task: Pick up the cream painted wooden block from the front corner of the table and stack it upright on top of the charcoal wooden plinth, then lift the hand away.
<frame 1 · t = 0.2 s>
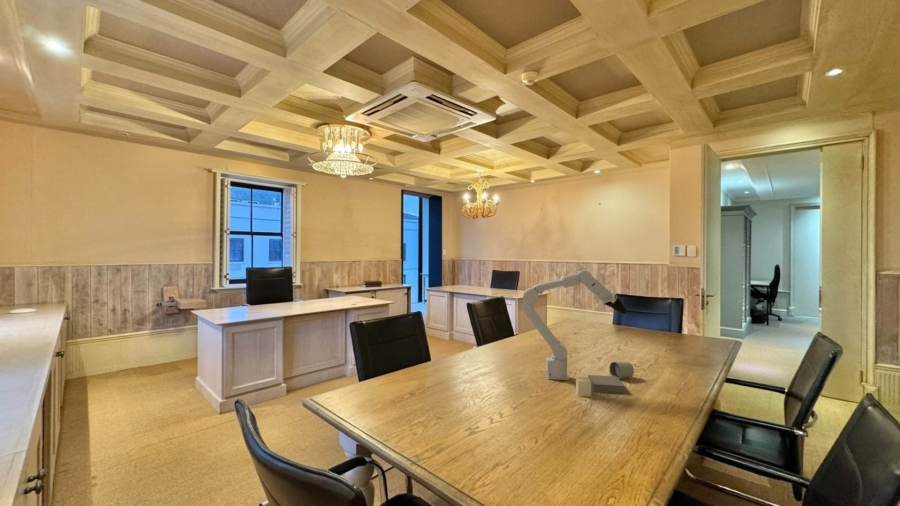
hand: (622, 311, 165), 31 cm above the table, tool tilted 50°, fingers open, 7 cm apart
ceramic mug: (619, 377, 171), on the table
charcoal plinth: (605, 387, 157), on the table
cream block: (583, 393, 150), on the table
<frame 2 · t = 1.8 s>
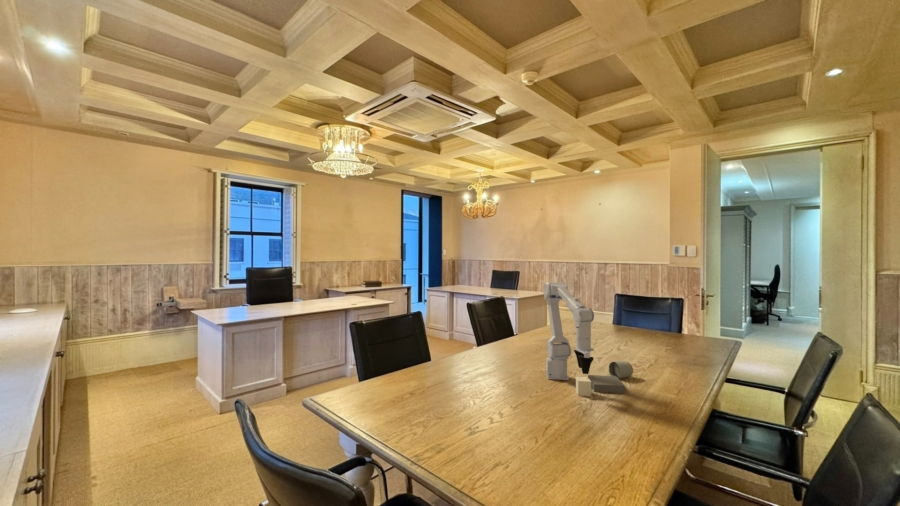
hand: (583, 370, 150), 9 cm above the table, tool pointing down, fingers open, 7 cm apart
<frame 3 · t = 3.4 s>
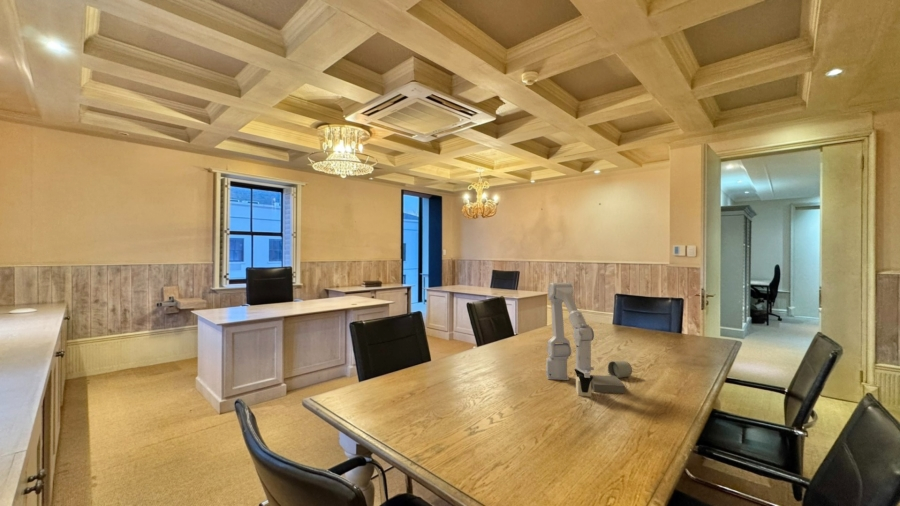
hand: (583, 389, 150), 2 cm above the table, tool pointing down, fingers closed on cream block, 5 cm apart
cream block: (583, 393, 150), on the table, touching gripper
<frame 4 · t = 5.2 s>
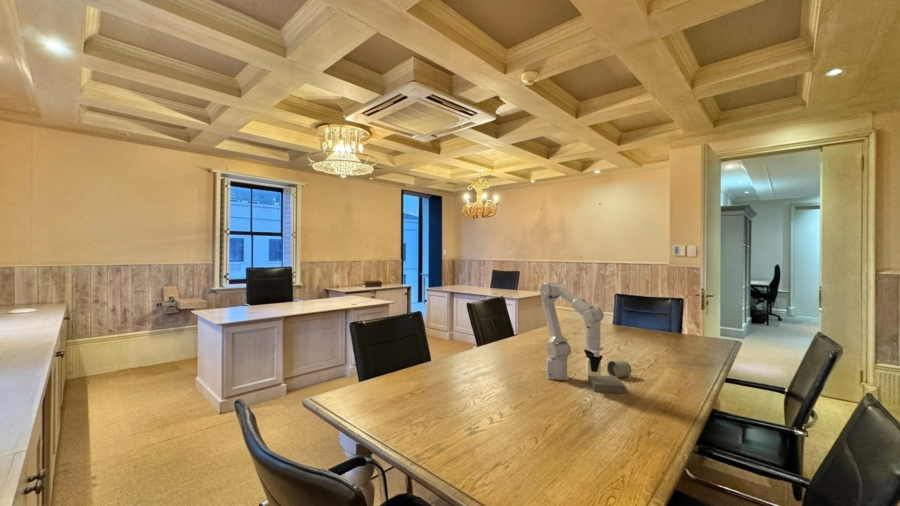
hand: (592, 369, 153), 9 cm above the table, tool pointing down, fingers closed on cream block, 5 cm apart
cream block: (592, 373, 153), point 7 cm above the table, touching gripper
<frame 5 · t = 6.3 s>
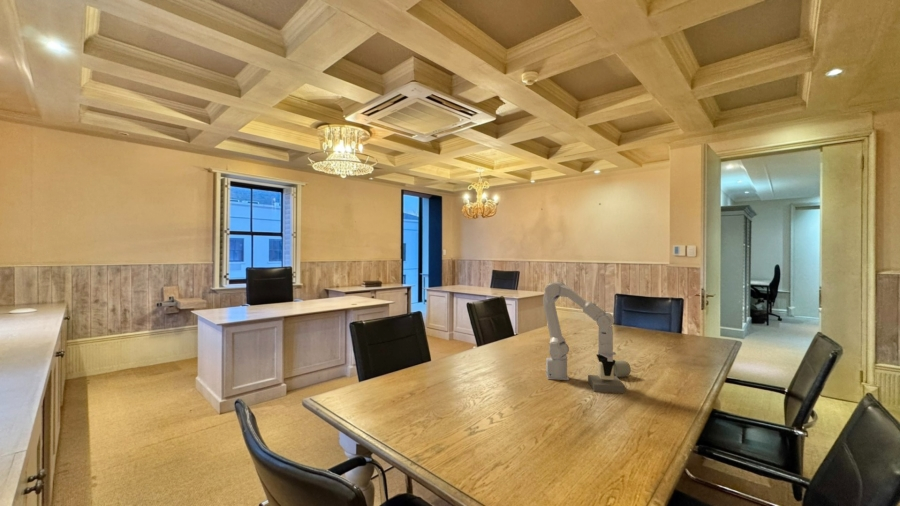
hand: (605, 373, 157), 6 cm above the table, tool pointing down, fingers closed on cream block, 5 cm apart
cream block: (605, 377, 157), point 4 cm above the table, touching gripper
when the fingers open (6 cm above the table, at t = 7.2 s): cream block drops 1 cm, resting on charcoal plinth.
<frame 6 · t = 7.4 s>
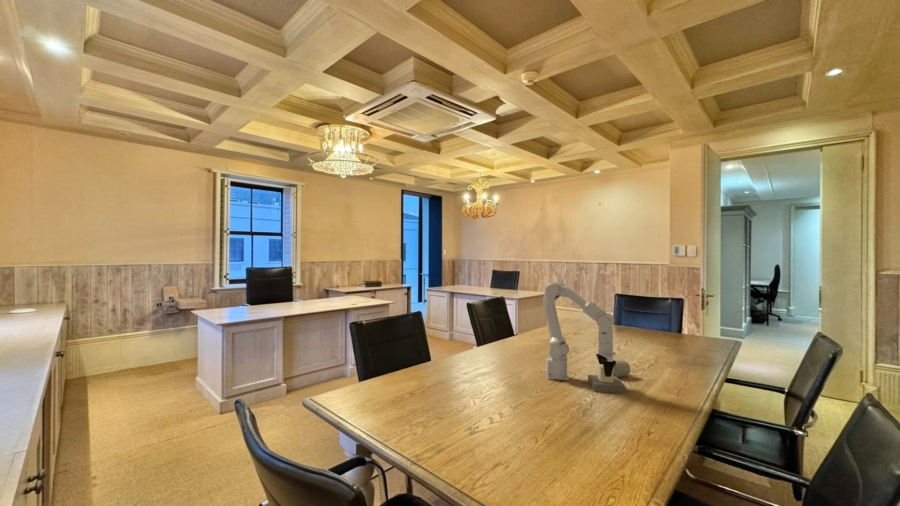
hand: (605, 373, 157), 6 cm above the table, tool pointing down, fingers open, 7 cm apart
cream block: (605, 380, 157), point 3 cm above the table, touching charcoal plinth
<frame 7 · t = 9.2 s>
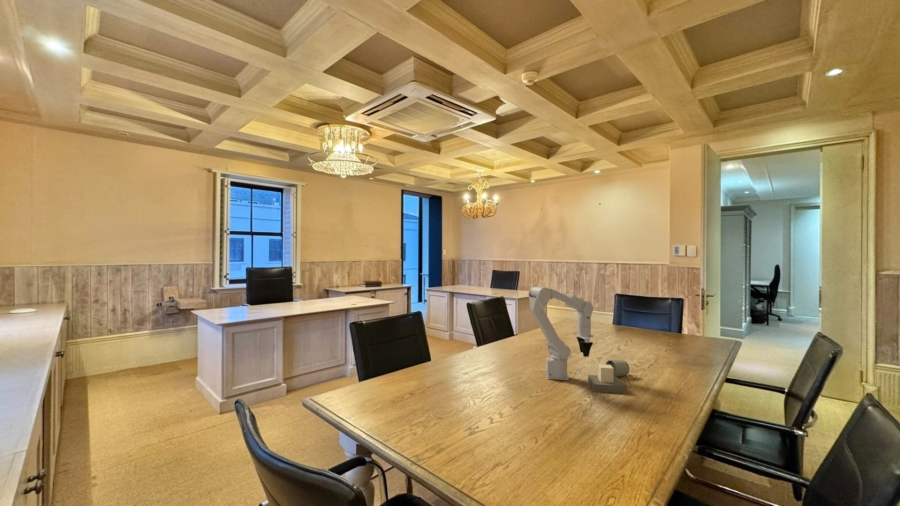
hand: (584, 354, 174), 9 cm above the table, tool pointing down, fingers open, 7 cm apart
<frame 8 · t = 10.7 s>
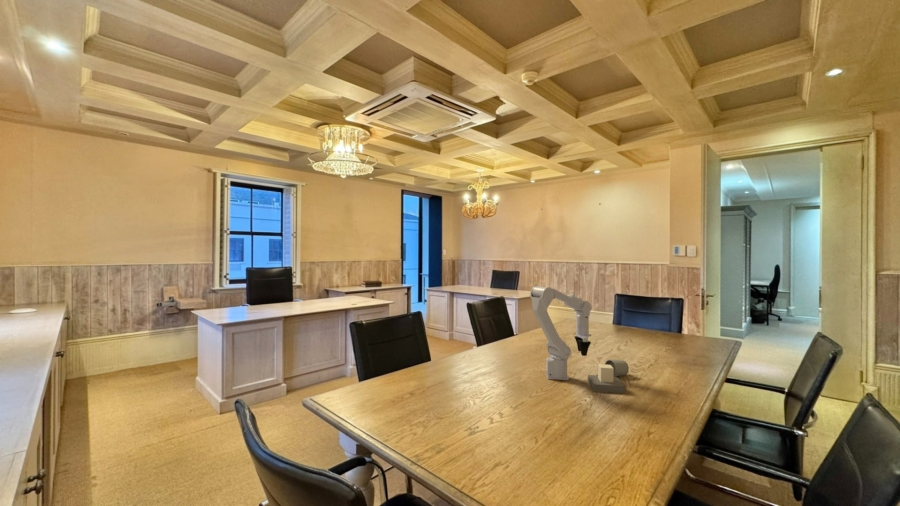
hand: (582, 353, 176), 9 cm above the table, tool pointing down, fingers open, 7 cm apart
at the end: cream block inside the target area on the charcoal plinth (0.0 cm from its centre), point 3.0 cm above the charcoal plinth's base; cream block tilted 0°; the gripper is holding nothing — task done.
